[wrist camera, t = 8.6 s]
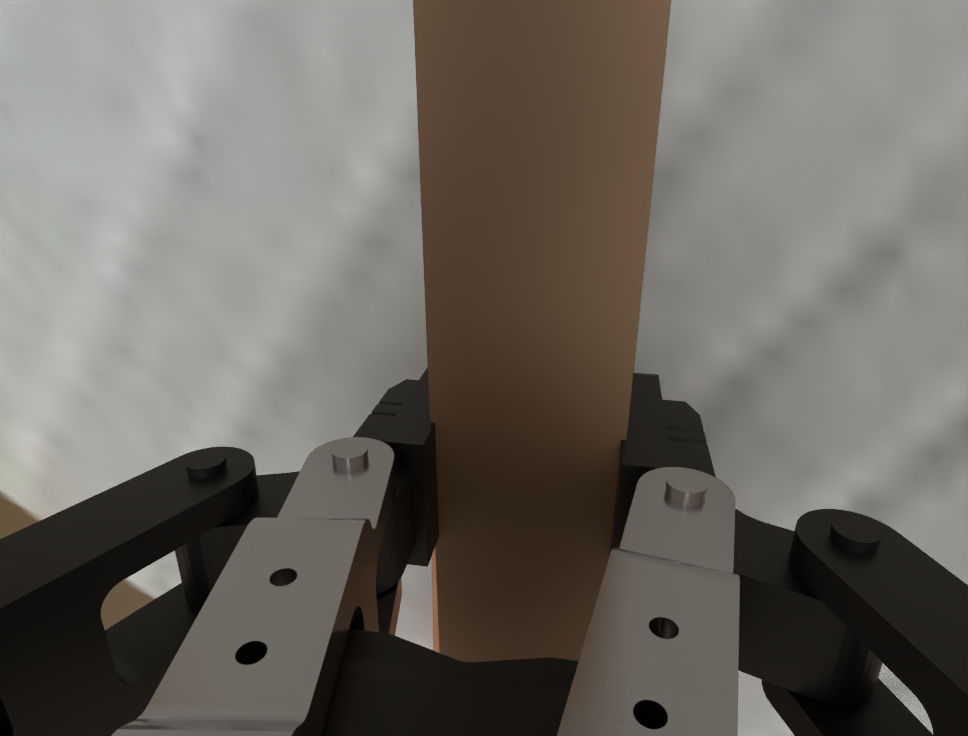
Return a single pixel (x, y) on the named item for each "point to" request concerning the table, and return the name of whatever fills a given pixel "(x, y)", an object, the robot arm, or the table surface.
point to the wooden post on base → (532, 300)
